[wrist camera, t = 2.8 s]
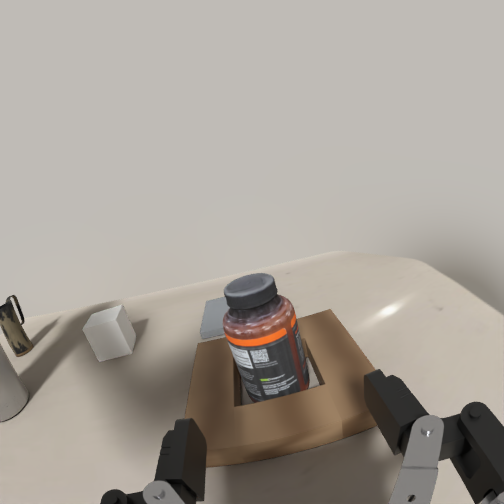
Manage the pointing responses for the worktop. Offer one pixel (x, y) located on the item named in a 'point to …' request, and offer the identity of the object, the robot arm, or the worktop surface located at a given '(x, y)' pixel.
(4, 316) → the mug
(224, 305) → the slate pad
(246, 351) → the supplement bottle
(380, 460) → the worktop surface
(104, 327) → the white cube
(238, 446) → the socket block
